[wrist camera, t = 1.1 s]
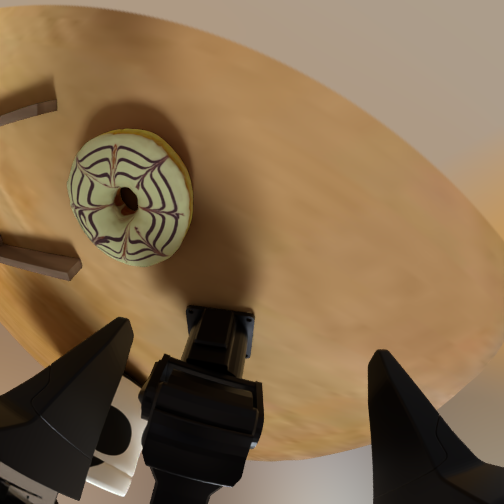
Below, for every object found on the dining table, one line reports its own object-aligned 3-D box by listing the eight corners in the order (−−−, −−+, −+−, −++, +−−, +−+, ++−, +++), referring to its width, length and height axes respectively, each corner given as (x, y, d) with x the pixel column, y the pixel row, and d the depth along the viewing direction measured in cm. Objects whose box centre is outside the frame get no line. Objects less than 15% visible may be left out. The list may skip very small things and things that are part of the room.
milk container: (129, 413, 45) (102, 489, 30) (57, 360, 39) (15, 438, 24) (184, 403, 38) (156, 507, 23) (92, 334, 32) (32, 446, 17)
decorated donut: (96, 240, 24) (74, 262, 21) (83, 127, 19) (54, 137, 15) (198, 257, 24) (185, 285, 21) (202, 126, 18) (184, 135, 15)
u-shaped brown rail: (82, 267, 26) (69, 281, 24) (2, 249, 27) (-10, 259, 25) (56, 99, 17) (37, 103, 15) (-24, 126, 18) (-39, 132, 16)
